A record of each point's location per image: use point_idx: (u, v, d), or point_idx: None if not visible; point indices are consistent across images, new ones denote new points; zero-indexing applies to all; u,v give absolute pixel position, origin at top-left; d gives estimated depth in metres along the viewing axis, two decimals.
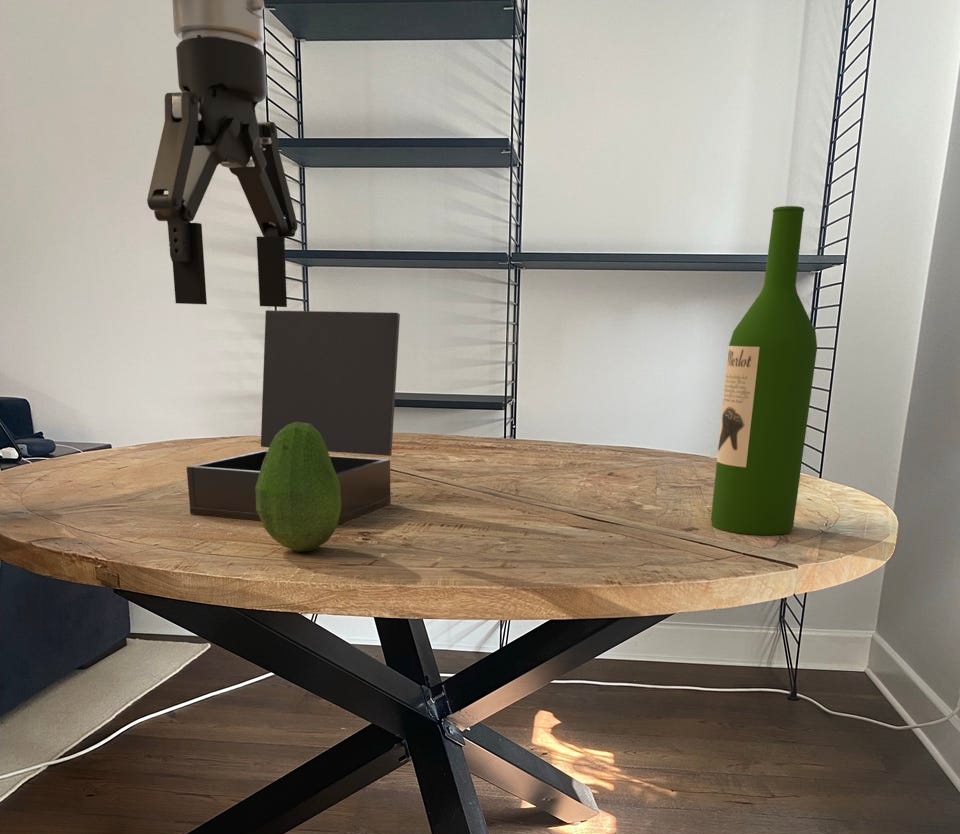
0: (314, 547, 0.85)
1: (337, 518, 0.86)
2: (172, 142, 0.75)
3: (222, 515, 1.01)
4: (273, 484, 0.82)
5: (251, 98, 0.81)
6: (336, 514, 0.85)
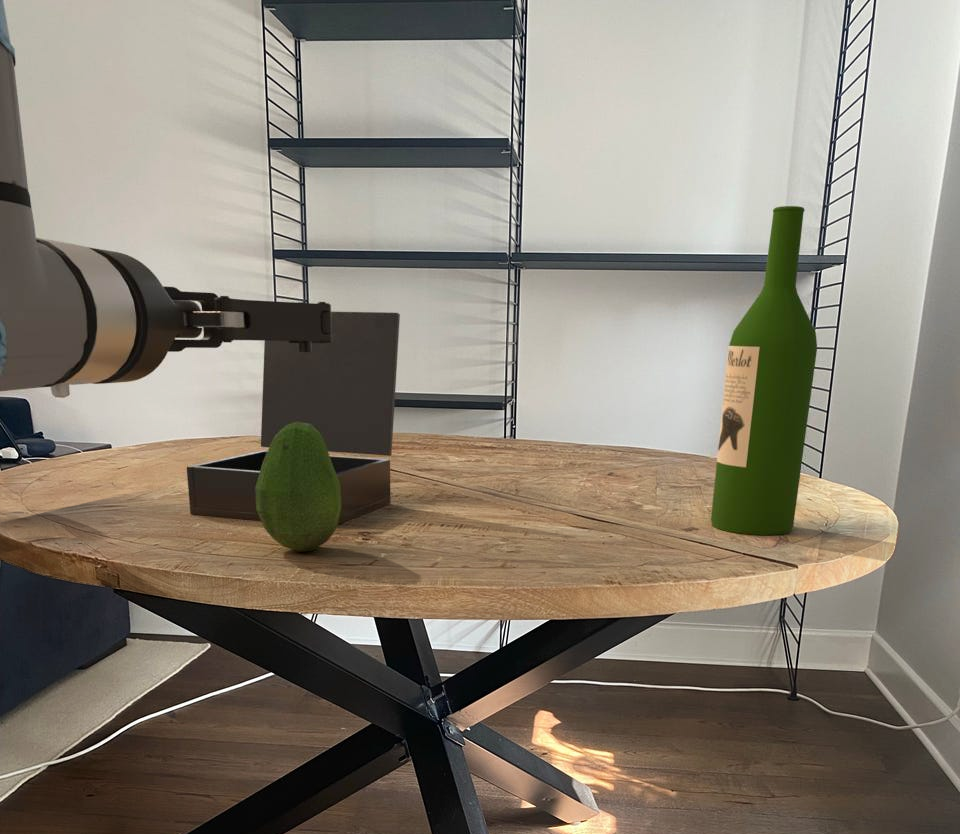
0: (314, 547, 0.85)
1: (337, 518, 0.86)
2: None
3: (222, 515, 1.01)
4: (273, 484, 0.82)
5: None
6: (336, 514, 0.85)
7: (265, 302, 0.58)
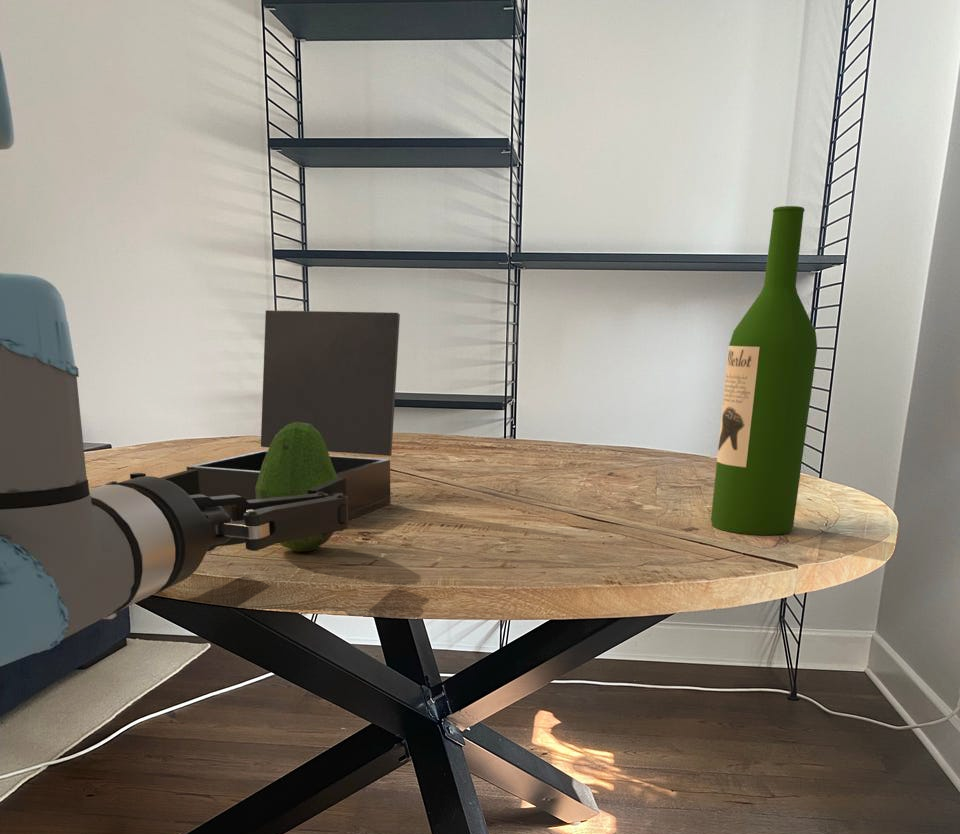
0: (314, 547, 0.85)
1: None
2: None
3: None
4: (273, 484, 0.82)
5: None
6: None
7: (288, 508, 0.65)
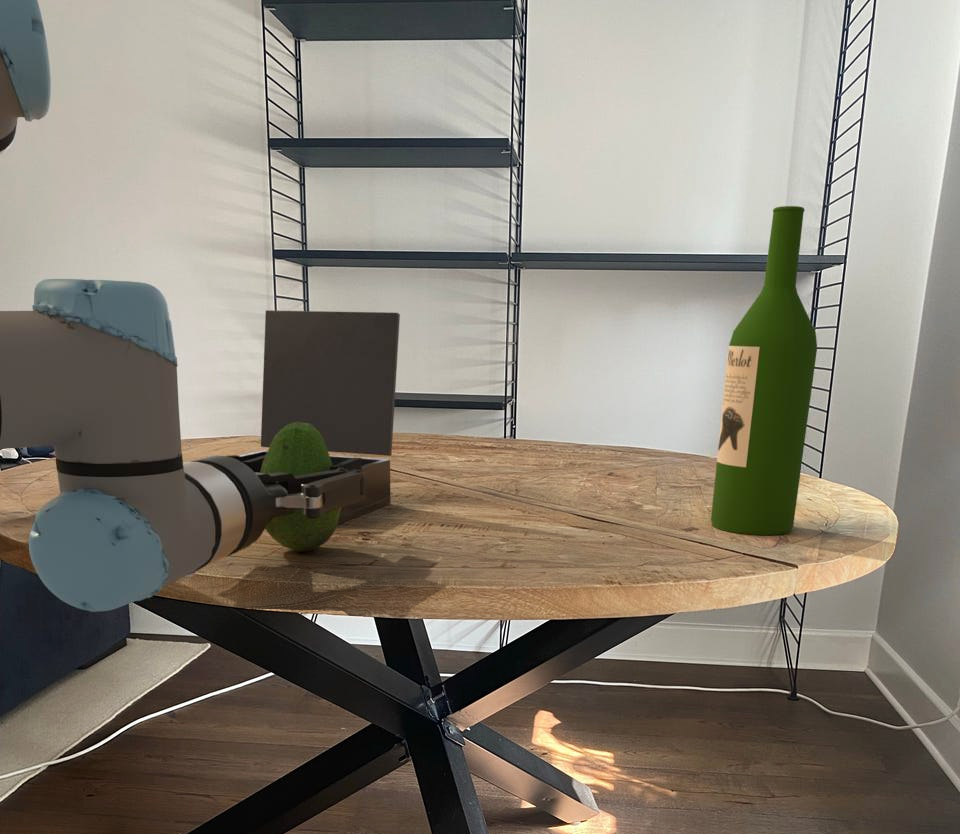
0: (314, 547, 0.85)
1: (337, 518, 0.86)
2: None
3: None
4: None
5: None
6: (336, 514, 0.85)
7: (332, 482, 0.75)
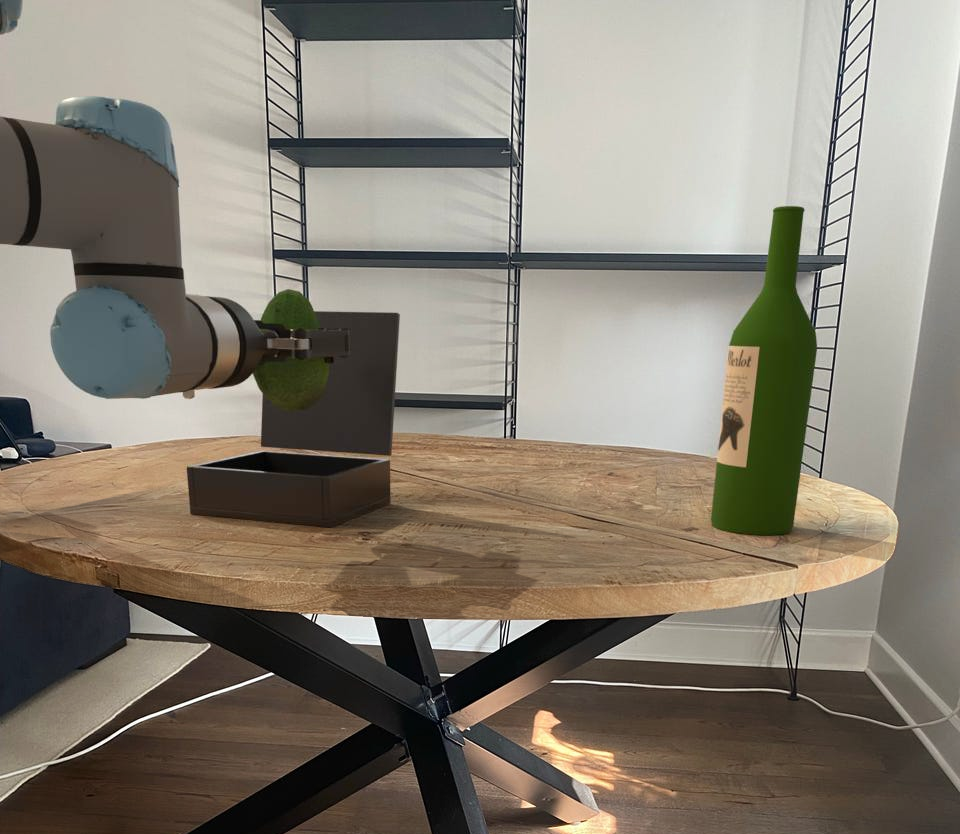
0: (304, 406, 0.94)
1: (325, 380, 0.94)
2: None
3: (222, 515, 1.01)
4: None
5: None
6: (324, 375, 0.93)
7: (318, 331, 0.84)
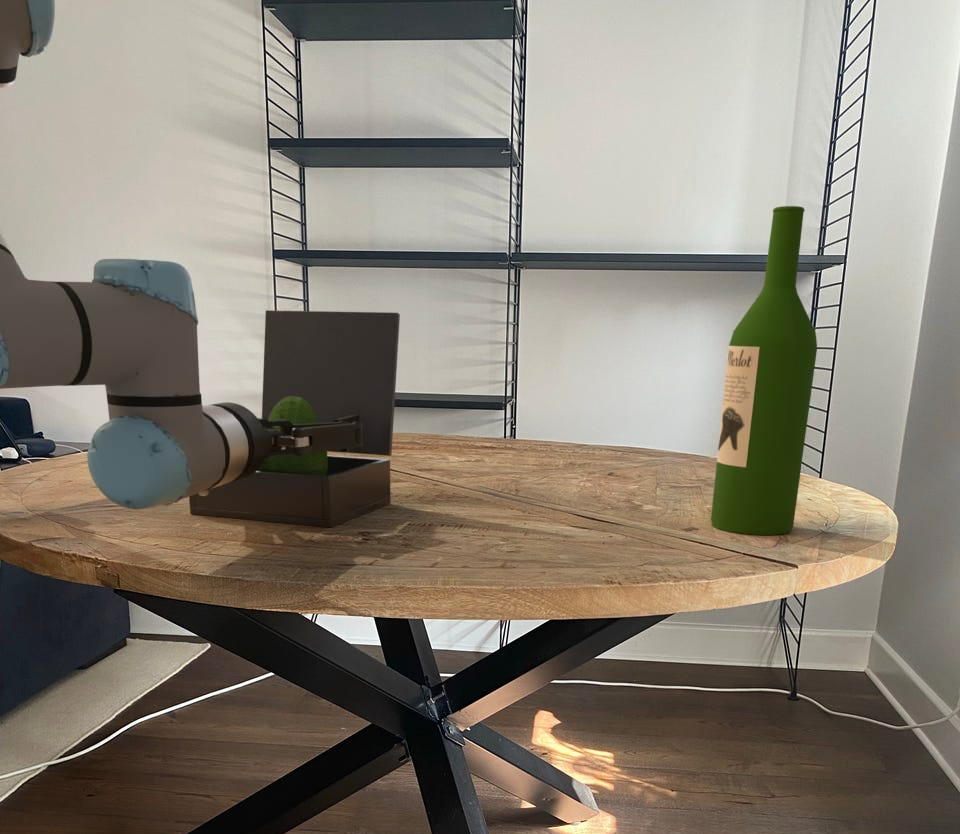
0: None
1: (324, 475, 1.05)
2: None
3: (222, 515, 1.01)
4: None
5: None
6: (323, 471, 1.04)
7: (321, 428, 0.93)
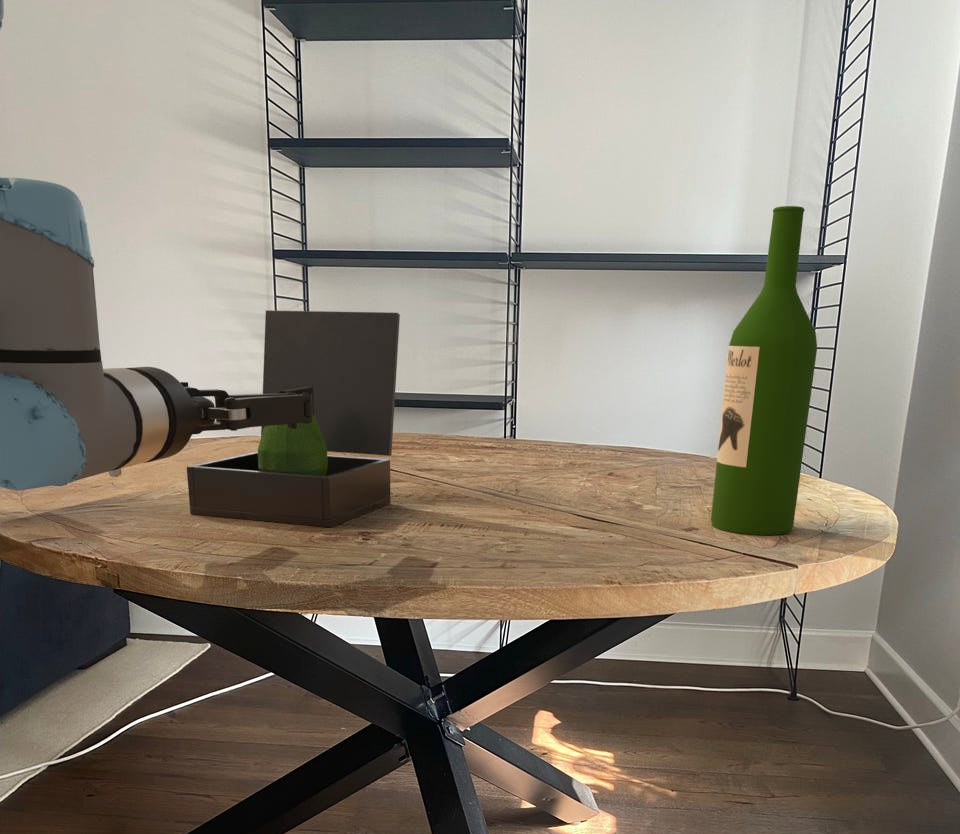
0: None
1: (324, 475, 1.05)
2: None
3: (222, 515, 1.01)
4: (272, 445, 1.01)
5: None
6: (323, 471, 1.04)
7: (262, 399, 0.79)
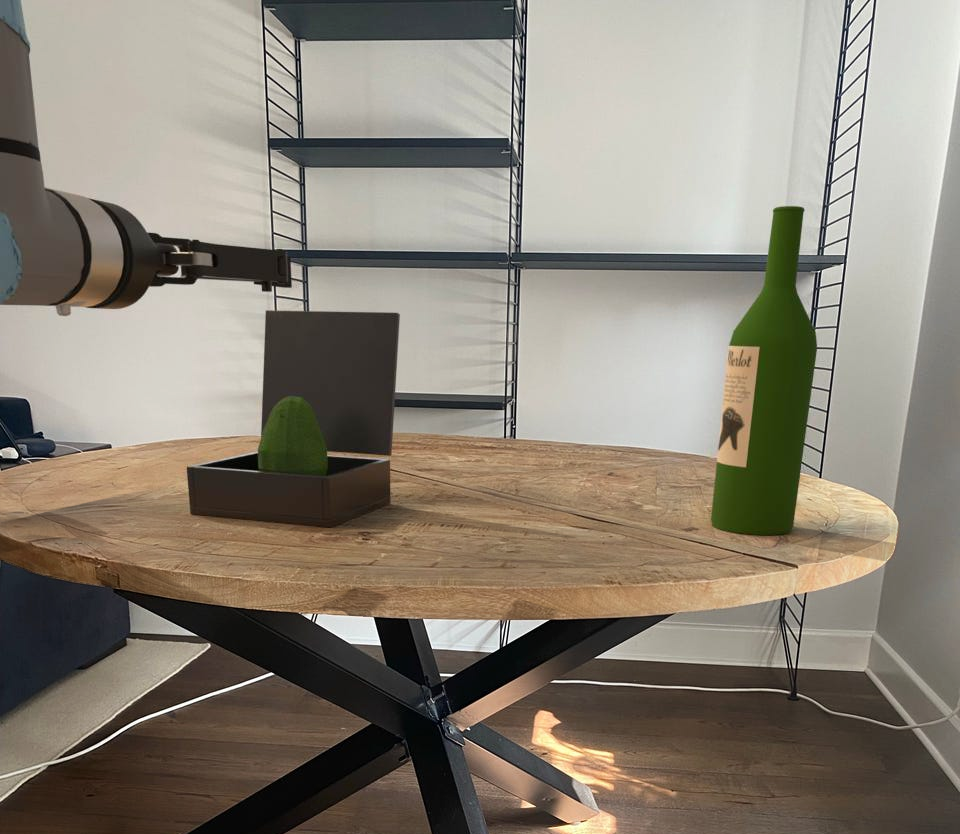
0: None
1: (324, 475, 1.05)
2: None
3: (222, 515, 1.01)
4: (272, 445, 1.01)
5: None
6: (323, 471, 1.04)
7: (230, 246, 0.72)
